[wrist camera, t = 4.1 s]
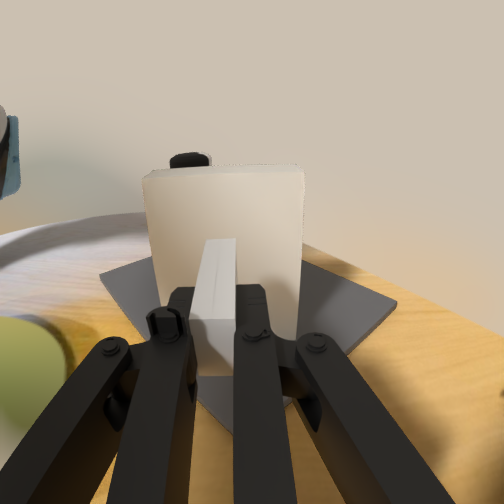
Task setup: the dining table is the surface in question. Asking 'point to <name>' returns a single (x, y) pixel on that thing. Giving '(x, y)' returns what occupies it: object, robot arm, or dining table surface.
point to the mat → (309, 318)
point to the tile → (230, 229)
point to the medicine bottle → (190, 160)
